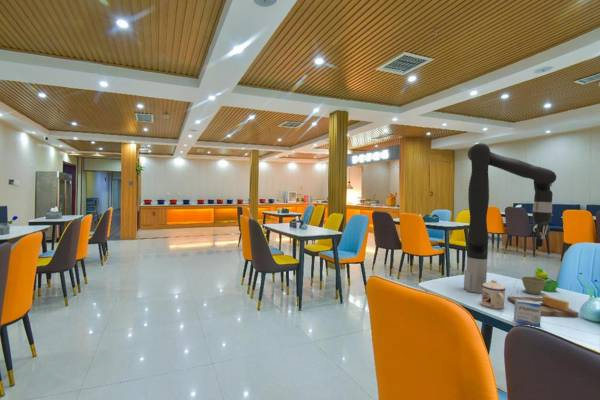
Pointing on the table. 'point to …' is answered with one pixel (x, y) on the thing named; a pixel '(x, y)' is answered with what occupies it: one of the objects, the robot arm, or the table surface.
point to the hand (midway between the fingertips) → (539, 246)
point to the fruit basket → (550, 283)
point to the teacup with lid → (493, 295)
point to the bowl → (533, 284)
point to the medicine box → (527, 312)
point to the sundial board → (548, 308)
